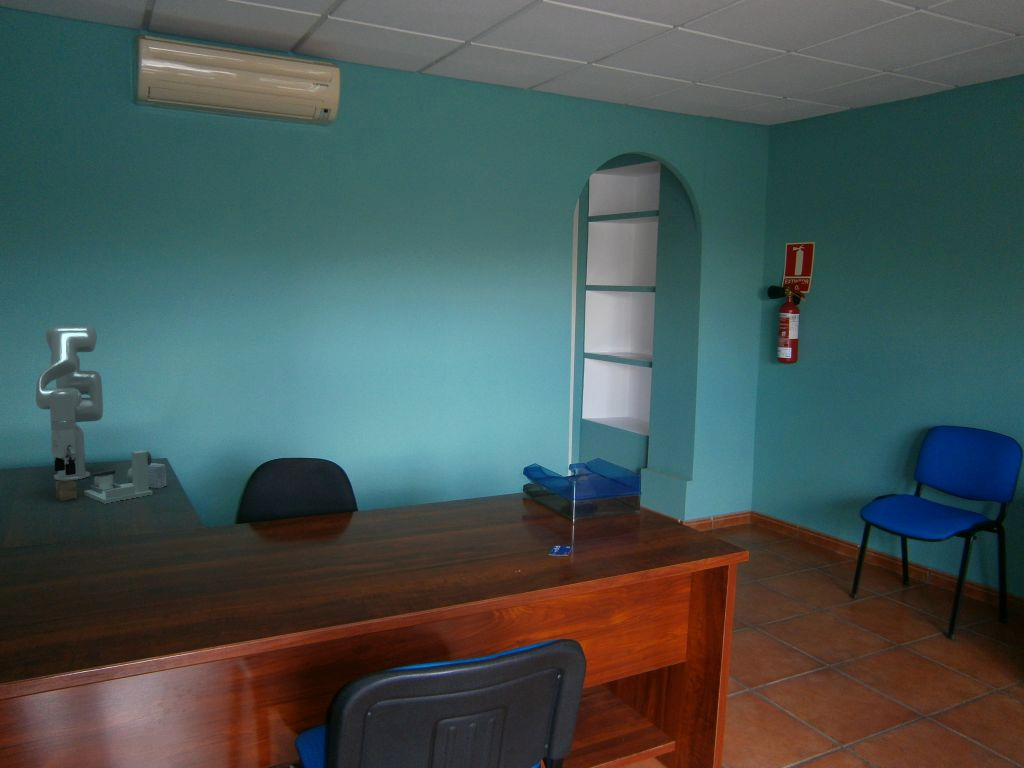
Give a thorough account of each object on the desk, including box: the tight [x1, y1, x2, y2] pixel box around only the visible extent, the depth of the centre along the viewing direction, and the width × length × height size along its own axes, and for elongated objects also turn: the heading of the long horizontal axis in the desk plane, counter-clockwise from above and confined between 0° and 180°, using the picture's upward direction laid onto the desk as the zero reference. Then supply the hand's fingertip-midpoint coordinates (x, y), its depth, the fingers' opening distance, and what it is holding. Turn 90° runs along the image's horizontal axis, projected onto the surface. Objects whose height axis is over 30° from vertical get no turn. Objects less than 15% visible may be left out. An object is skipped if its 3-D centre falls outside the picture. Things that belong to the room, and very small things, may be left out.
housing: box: [55, 479, 78, 501], centre depth 285 cm, size 5×5×6 cm
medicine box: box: [148, 462, 167, 489], centre depth 303 cm, size 8×4×9 cm, turn 71°
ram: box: [90, 469, 116, 490], centre depth 292 cm, size 4×8×6 cm, turn 139°
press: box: [83, 449, 154, 505], centre depth 290 cm, size 18×18×16 cm
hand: (65, 472), depth 283 cm, fingers open, 9 cm apart
